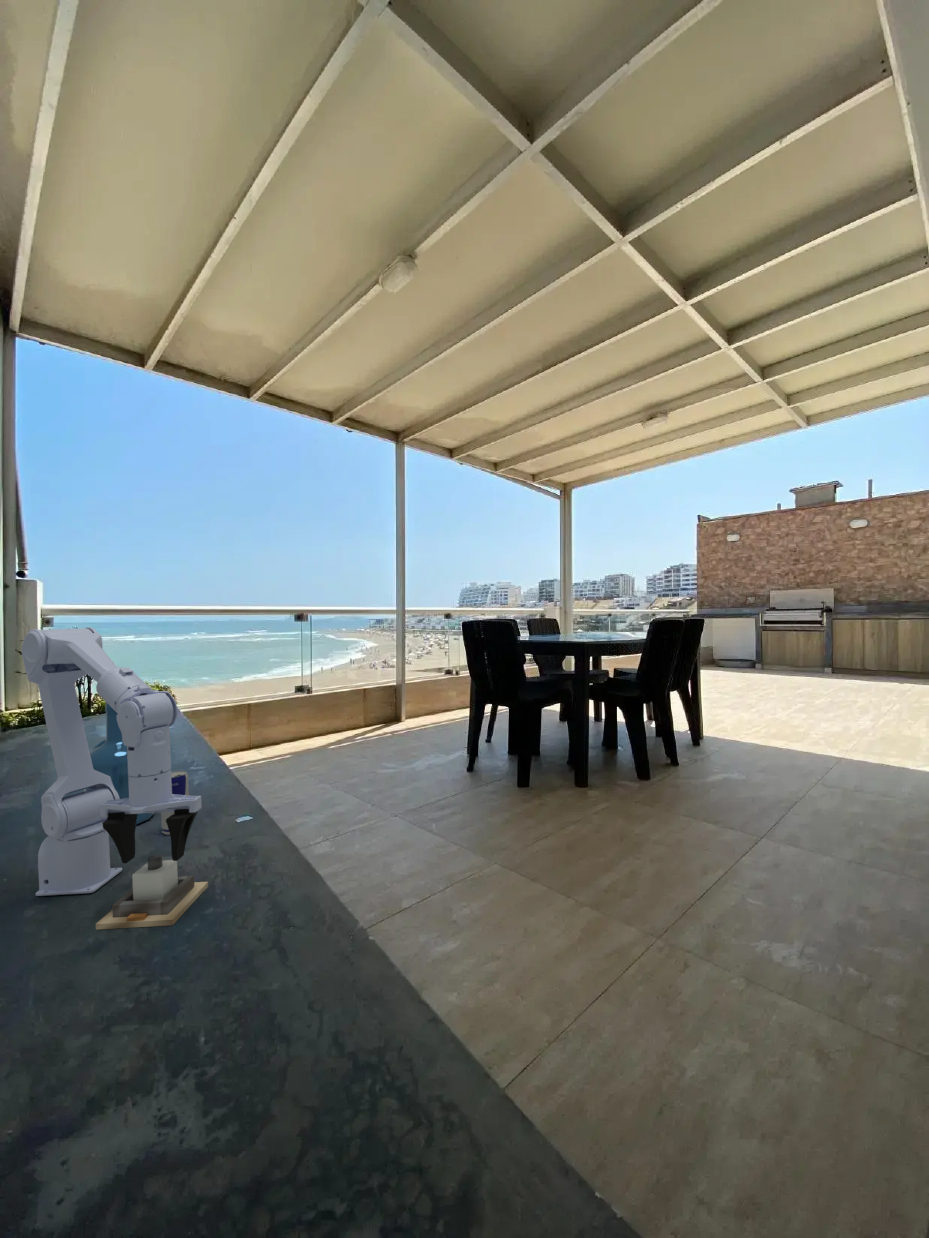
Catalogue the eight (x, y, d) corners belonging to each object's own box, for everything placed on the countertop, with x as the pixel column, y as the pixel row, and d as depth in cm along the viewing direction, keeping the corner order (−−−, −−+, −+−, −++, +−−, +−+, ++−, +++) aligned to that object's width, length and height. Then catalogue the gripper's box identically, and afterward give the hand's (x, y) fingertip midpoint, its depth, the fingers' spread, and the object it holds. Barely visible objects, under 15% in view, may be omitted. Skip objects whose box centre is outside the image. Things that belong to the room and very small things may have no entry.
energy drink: (178, 836, 109) (175, 778, 109) (155, 834, 110) (153, 777, 110) (196, 825, 114) (193, 770, 114) (174, 824, 115) (172, 770, 115)
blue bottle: (167, 816, 120) (161, 686, 120) (102, 838, 109) (96, 694, 109) (137, 807, 128) (131, 684, 128) (73, 826, 117) (67, 692, 117)
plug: (133, 907, 79) (131, 864, 79) (150, 892, 84) (148, 851, 84) (163, 905, 79) (161, 863, 79) (178, 890, 84) (176, 850, 84)
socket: (95, 929, 76) (95, 911, 76) (141, 890, 87) (140, 874, 87) (172, 925, 76) (172, 907, 76) (208, 886, 87) (207, 870, 87)
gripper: (84, 782, 77) (88, 874, 77) (184, 777, 77) (187, 869, 77) (115, 768, 84) (118, 852, 84) (206, 764, 84) (209, 848, 84)
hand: (153, 859), depth 81 cm, fingers open, 7 cm apart
